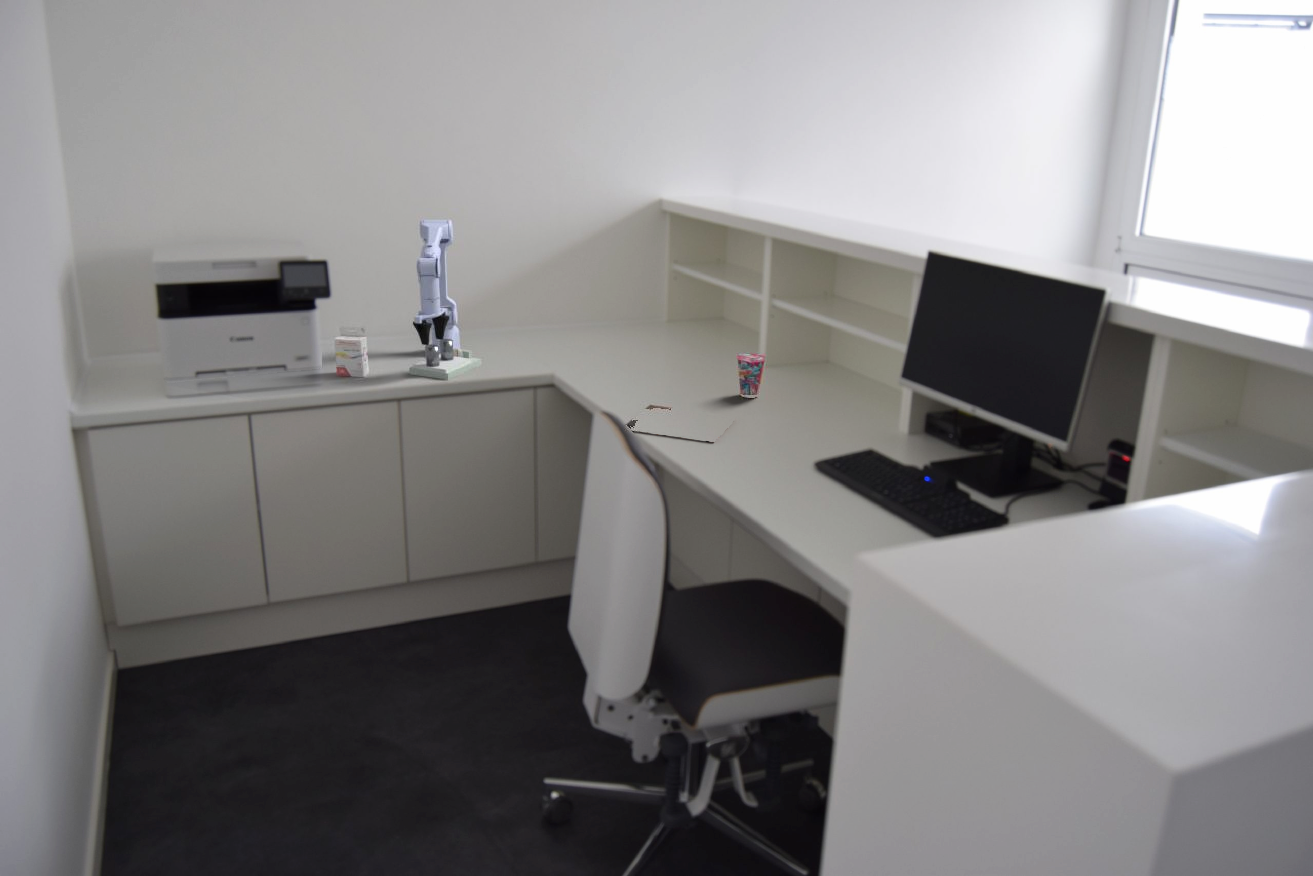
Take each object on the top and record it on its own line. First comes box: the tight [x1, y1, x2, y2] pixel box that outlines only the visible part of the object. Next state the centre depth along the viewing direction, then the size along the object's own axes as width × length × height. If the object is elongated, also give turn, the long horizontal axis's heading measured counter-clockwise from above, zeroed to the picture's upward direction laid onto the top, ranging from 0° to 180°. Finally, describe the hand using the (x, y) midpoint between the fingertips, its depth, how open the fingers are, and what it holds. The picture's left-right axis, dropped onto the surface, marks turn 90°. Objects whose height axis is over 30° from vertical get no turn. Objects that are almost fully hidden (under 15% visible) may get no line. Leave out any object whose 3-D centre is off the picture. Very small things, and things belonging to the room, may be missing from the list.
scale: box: [408, 348, 482, 381], centre depth 313 cm, size 19×14×5 cm
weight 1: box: [424, 343, 440, 367], centre depth 306 cm, size 4×4×6 cm
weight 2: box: [440, 339, 454, 361], centre depth 313 cm, size 4×4×6 cm
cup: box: [736, 352, 767, 395], centre depth 292 cm, size 9×8×12 cm
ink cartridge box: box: [334, 325, 370, 378], centre depth 304 cm, size 9×5×15 cm, turn 84°
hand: (432, 341), depth 304 cm, fingers open, 7 cm apart
